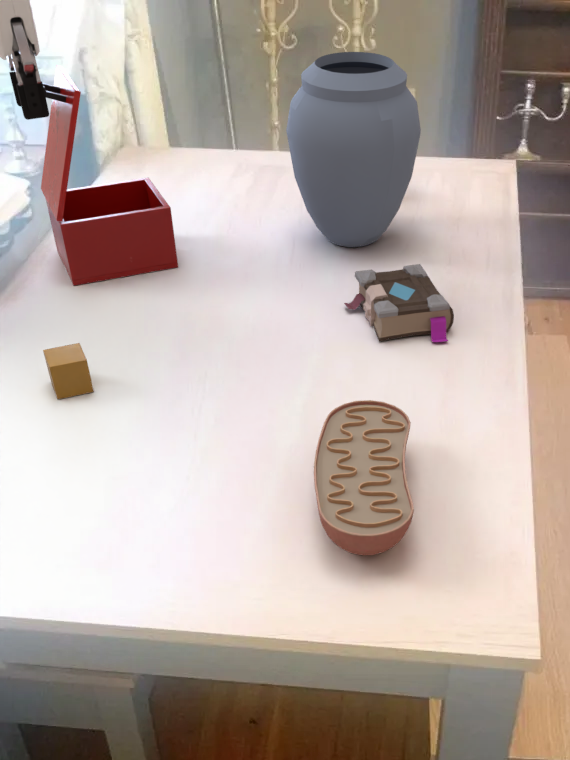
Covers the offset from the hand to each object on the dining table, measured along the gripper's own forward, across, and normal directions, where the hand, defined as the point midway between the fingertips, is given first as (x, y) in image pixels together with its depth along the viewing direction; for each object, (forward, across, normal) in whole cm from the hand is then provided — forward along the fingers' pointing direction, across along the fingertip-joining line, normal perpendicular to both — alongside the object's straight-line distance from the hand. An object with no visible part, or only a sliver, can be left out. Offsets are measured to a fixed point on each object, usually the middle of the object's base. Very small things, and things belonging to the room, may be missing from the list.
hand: (33, 109), depth 118 cm
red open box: (+22, 0, +7) cm, 23 cm away
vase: (+22, +7, +43) cm, 49 cm away
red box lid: (+5, 0, +3) cm, 6 cm away
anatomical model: (+22, +68, +18) cm, 73 cm away
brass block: (+21, +34, -6) cm, 40 cm away
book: (+22, +32, +38) cm, 54 cm away
